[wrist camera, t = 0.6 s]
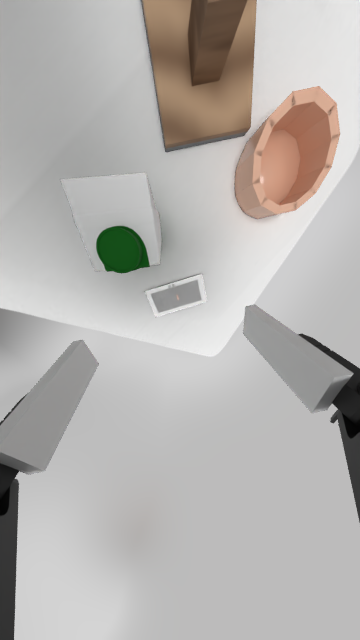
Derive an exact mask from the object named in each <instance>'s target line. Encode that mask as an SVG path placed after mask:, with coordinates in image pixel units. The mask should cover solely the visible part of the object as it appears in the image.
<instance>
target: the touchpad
mask: <svg viewBox="0 0 360 640" xmlns="http://www.w3.org/2000/svg"><path fill="white" fill-rule="evenodd" d="M145 293H146V296H147V298H148V300H149V303H150V305H151V307H152V310H153V312H154V315H155V317H159V316H162V315H166V314H169V313H172V312H175V311H179V310H182V309H185V308H189V307H192V306H195V305H199V304H202V303H205V302H207V297H206V291H205V286H204V281H203V275H202V274H199V275H196V276H193V277H190V278H186V279H183V280H180V281H177V282H173V283H170V284H167V285H164V286H161V287H157V288H154V289H151V290H148V291H145Z"/></svg>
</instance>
